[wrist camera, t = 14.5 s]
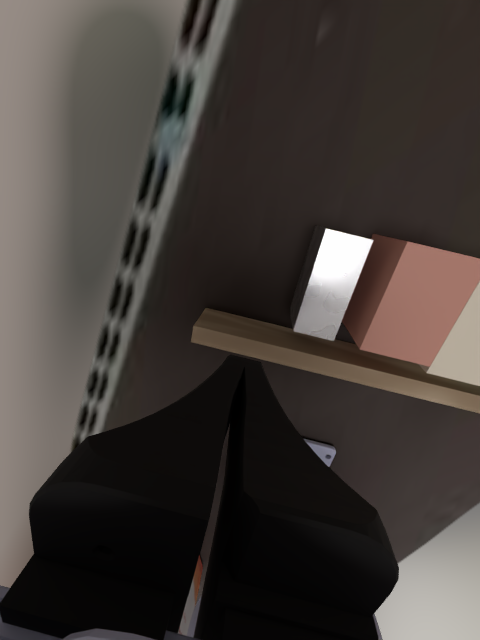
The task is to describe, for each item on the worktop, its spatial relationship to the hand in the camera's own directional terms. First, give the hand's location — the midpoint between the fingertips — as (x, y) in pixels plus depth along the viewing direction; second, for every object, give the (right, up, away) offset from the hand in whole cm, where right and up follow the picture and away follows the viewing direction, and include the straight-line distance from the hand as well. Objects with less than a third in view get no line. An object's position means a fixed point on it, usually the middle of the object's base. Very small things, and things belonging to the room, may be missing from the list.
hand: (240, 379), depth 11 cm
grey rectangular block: (+6, +6, +8) cm, 11 cm away
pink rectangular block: (+10, +5, +8) cm, 13 cm away
